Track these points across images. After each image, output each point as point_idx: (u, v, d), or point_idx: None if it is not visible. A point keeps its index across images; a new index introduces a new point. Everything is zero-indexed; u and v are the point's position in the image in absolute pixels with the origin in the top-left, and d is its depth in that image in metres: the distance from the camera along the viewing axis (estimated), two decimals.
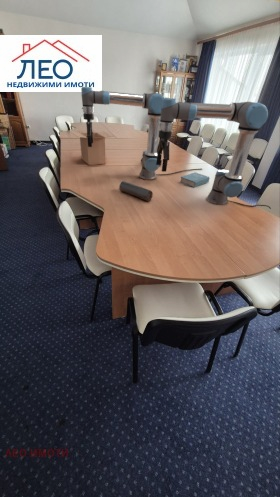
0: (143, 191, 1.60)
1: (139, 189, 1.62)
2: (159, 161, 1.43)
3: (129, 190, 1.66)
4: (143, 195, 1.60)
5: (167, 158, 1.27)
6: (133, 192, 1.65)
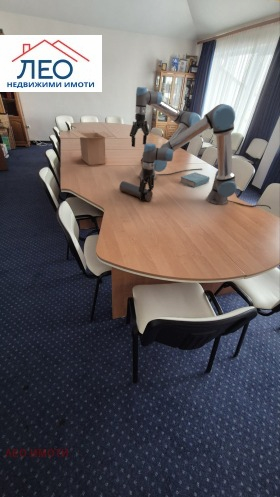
0: None
1: None
2: None
3: (129, 190, 1.66)
4: None
5: None
6: (133, 192, 1.65)
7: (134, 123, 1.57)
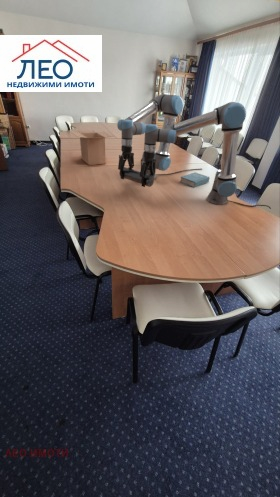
0: None
1: None
2: None
3: (130, 176, 1.60)
4: None
5: None
6: (134, 177, 1.58)
7: (120, 157, 1.54)
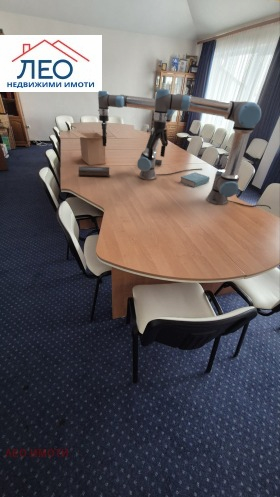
0: None
1: None
2: None
3: None
4: None
5: None
6: None
7: None
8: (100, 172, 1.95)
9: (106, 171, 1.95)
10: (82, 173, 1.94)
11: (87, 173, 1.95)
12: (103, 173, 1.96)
